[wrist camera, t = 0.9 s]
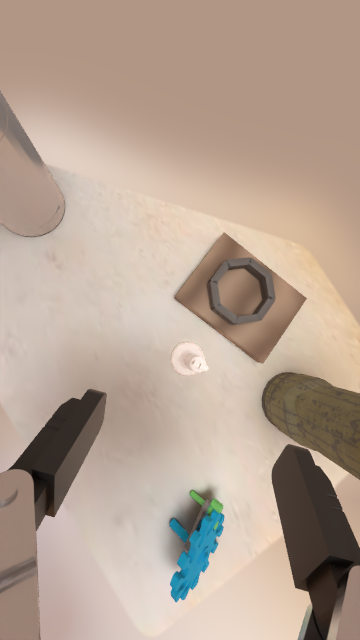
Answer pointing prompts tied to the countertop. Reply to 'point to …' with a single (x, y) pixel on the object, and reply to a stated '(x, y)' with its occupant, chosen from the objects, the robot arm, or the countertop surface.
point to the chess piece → (188, 359)
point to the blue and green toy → (196, 545)
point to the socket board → (241, 298)
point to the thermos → (316, 416)
